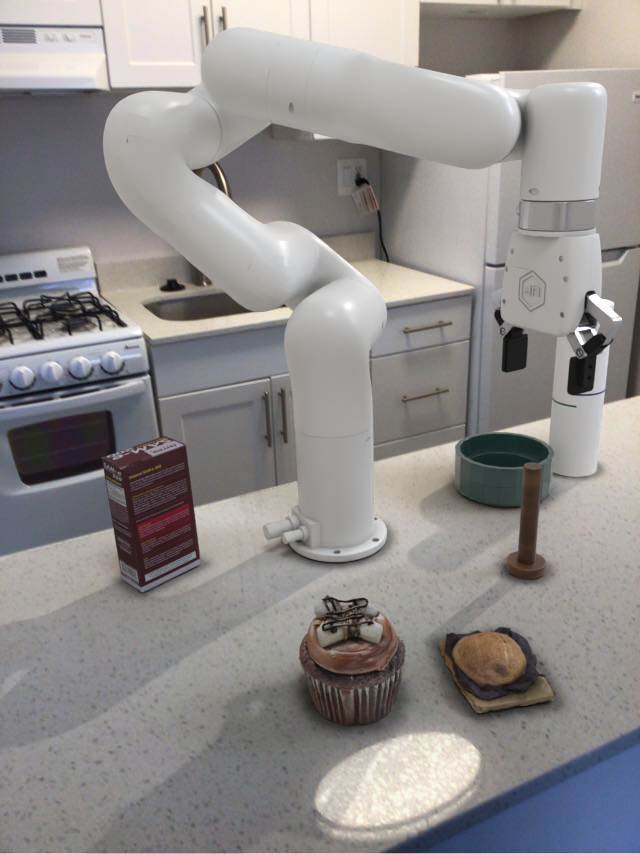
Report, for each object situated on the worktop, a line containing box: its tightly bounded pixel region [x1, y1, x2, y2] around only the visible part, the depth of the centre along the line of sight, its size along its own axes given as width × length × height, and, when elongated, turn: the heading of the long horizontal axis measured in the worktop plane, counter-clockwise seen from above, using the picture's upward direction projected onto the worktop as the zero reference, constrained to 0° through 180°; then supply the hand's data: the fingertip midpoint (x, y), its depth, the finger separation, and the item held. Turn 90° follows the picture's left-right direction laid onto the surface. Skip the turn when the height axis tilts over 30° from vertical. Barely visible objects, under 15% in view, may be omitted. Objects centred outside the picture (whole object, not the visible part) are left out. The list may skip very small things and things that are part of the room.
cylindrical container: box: [548, 298, 615, 478], centre depth 109 cm, size 7×7×25 cm
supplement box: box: [101, 435, 202, 593], centre depth 87 cm, size 9×5×16 cm, turn 134°
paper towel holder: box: [505, 462, 547, 580], centre depth 86 cm, size 4×4×13 cm
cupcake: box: [298, 594, 407, 726], centre depth 68 cm, size 10×10×10 cm
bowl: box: [453, 431, 554, 508], centre depth 107 cm, size 13×13×6 cm
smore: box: [438, 626, 555, 714], centre depth 71 cm, size 11×8×4 cm
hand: (545, 380), depth 82 cm, fingers open, 9 cm apart
